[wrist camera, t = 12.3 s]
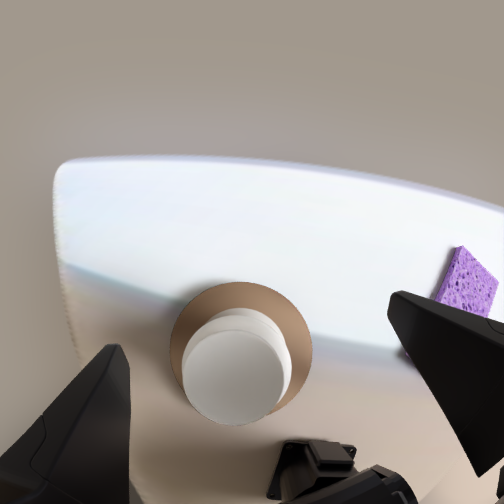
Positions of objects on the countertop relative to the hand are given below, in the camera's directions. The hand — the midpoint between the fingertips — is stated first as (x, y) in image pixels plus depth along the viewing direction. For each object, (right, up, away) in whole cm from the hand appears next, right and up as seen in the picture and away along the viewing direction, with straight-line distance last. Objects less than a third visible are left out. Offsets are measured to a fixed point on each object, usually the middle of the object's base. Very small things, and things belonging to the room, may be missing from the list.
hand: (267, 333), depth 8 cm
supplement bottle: (-1, -5, +11) cm, 12 cm away
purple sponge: (+19, -4, +14) cm, 24 cm away
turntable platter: (-1, -5, +13) cm, 14 cm away
